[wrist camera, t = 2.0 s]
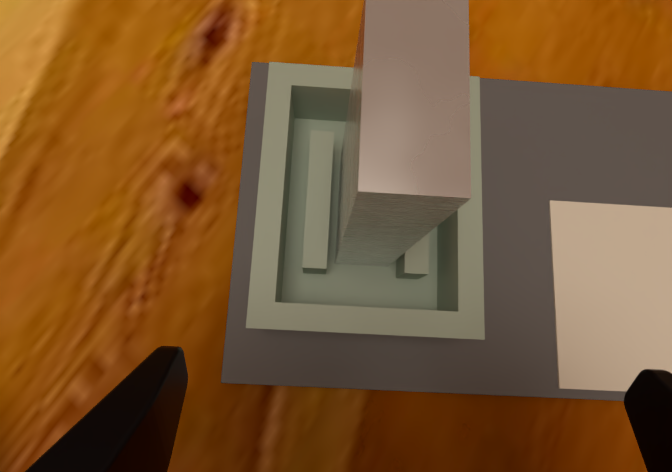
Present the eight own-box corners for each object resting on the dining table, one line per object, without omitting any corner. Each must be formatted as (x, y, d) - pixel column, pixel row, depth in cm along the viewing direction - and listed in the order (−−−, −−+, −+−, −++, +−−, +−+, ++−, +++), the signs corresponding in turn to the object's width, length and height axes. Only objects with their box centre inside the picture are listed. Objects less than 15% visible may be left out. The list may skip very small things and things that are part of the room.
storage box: (452, 337, 21) (484, 339, 17) (259, 327, 20) (245, 328, 16) (451, 119, 23) (479, 76, 19) (277, 108, 22) (269, 62, 18)
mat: (748, 405, 21) (761, 407, 20) (223, 381, 20) (220, 383, 20) (707, 99, 24) (717, 93, 24) (253, 67, 23) (251, 61, 23)
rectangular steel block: (387, 266, 20) (471, 198, 9) (334, 263, 20) (357, 191, 9) (390, 163, 21) (468, -8, 10) (339, 160, 21) (366, -16, 10)
